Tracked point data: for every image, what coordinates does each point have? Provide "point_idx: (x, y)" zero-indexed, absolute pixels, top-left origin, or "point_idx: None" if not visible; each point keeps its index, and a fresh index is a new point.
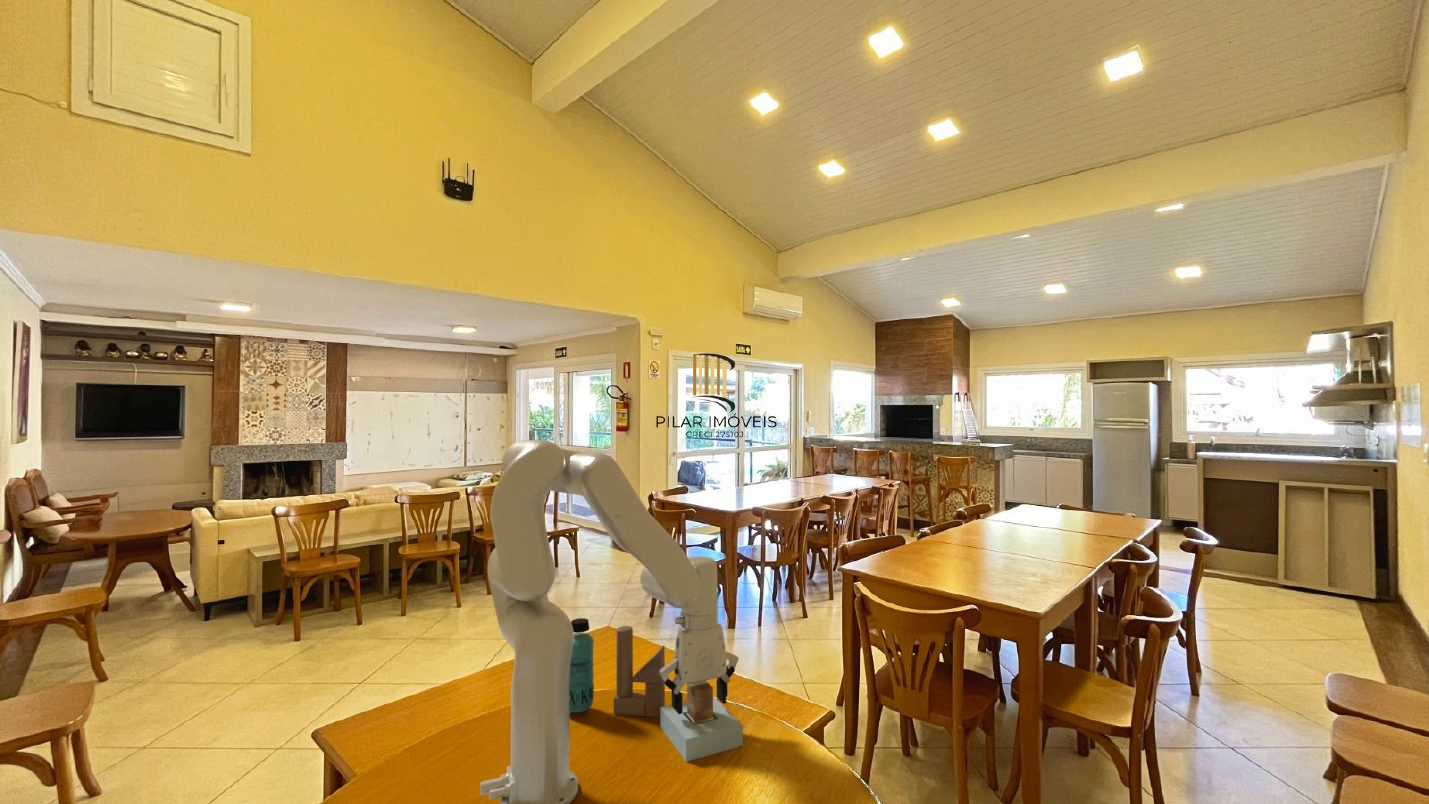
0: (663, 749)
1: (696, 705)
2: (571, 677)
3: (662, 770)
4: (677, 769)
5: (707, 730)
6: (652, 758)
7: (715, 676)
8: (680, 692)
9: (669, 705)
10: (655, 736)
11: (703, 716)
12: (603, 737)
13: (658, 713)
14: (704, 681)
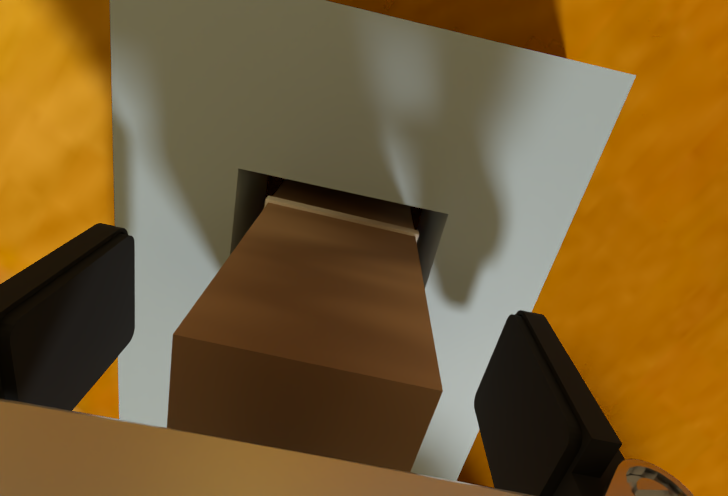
0: (563, 249)
1: (406, 291)
2: None
3: (721, 86)
4: (659, 35)
5: (415, 78)
6: (663, 218)
7: (26, 424)
8: (579, 464)
9: None
10: None
11: (343, 231)
12: (672, 469)
13: None
14: None
